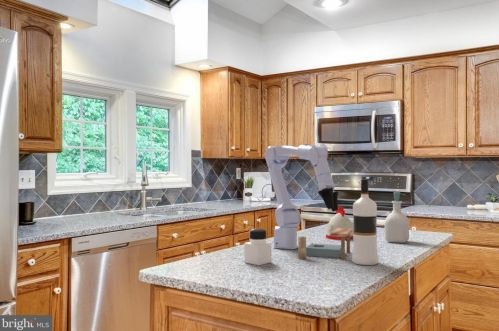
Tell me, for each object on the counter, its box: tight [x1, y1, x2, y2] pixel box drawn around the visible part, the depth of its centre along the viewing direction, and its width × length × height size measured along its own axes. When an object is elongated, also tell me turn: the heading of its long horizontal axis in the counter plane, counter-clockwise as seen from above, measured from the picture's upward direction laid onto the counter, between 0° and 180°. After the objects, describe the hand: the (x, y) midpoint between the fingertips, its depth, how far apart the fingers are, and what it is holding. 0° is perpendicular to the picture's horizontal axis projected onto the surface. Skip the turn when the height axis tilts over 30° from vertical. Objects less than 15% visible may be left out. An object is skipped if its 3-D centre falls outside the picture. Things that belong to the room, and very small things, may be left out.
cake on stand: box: [325, 206, 354, 241], centre depth 208 cm, size 14×14×15 cm
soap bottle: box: [384, 191, 410, 244], centre depth 196 cm, size 10×10×23 cm
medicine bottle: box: [243, 228, 272, 266], centre depth 156 cm, size 7×7×12 cm
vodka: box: [351, 178, 380, 266], centre depth 154 cm, size 9×9×30 cm
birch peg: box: [297, 235, 307, 260], centre depth 162 cm, size 3×3×8 cm
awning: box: [330, 228, 352, 260], centre depth 167 cm, size 6×14×10 cm, turn 158°
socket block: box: [306, 243, 341, 259], centre depth 169 cm, size 13×10×3 cm
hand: (333, 209), depth 162 cm, fingers open, 7 cm apart
